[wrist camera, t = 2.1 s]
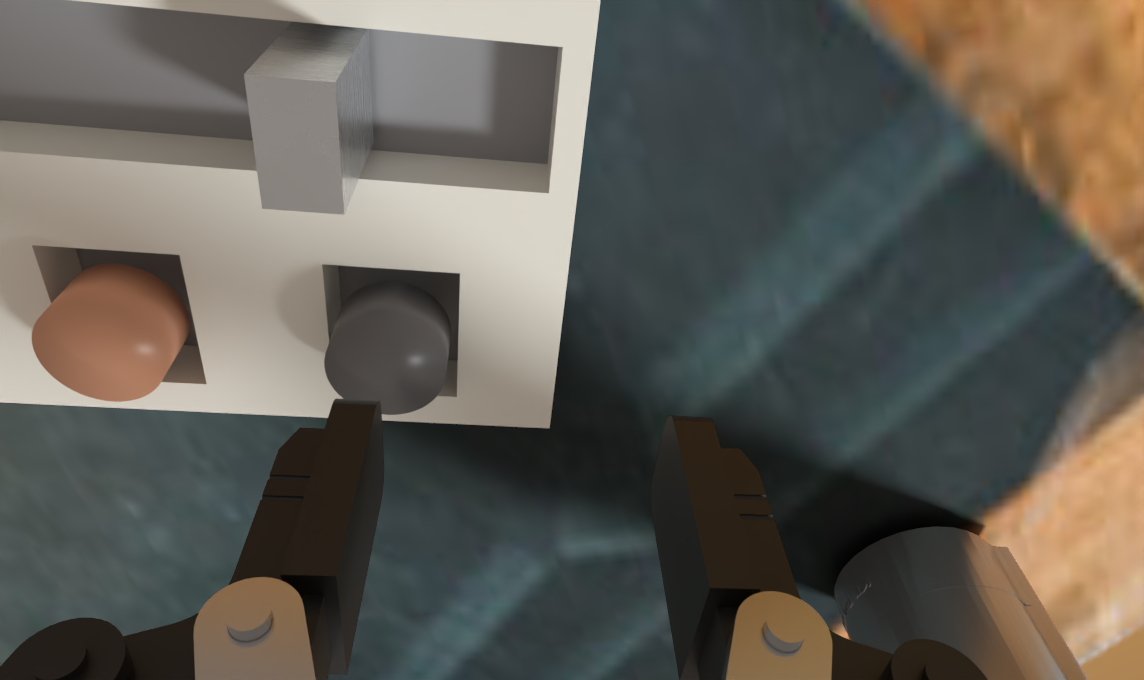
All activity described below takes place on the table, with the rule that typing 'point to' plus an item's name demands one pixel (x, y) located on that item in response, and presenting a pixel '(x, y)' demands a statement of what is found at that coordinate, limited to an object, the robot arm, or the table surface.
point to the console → (292, 238)
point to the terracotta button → (112, 333)
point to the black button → (389, 347)
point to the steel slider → (311, 117)
